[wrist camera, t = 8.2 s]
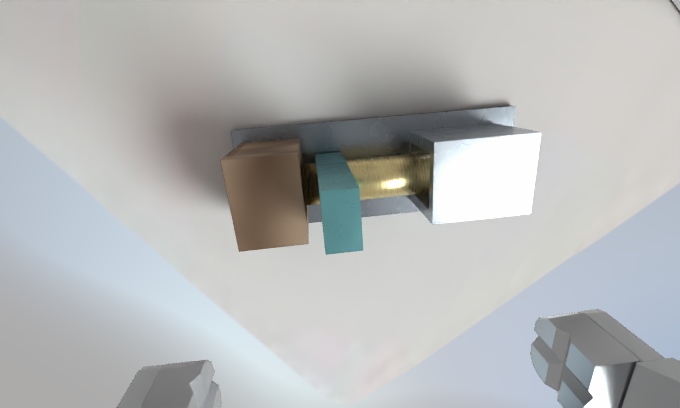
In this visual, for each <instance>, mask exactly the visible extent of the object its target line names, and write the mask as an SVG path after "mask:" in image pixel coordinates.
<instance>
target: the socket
mask: <svg viewBox="0 0 680 408" xmlns="http://www.w3.org/2000/svg"><path fill="white" fill-rule="evenodd" d="M220 161H221V166H222V171H223V175H224V180H225V185H226V190H227V195H228V200H229V205H230V210H231V215H232V220H233V225H234V230H235V235H236V239H237V244H238V249H239V252H240V251H249V250H258V249H267V248H276V247H285V246H294V245H303V244H308V206H305V204H304V196H303V188H302V179H301V171H300V164H303V162H302V154H301V145H300V138H299V139H288V140H277V141H266V142H255V143H244V144H239V145H238V146H237V147H236V148H234V149H233V150H232V151H231V152H230V153H229V154H227V155H226V156H225V157H224V158H223V159H222V160H220Z"/></svg>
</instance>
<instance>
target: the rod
mask: <svg viewBox="0 0 680 408" xmlns="http://www.w3.org/2000/svg"><path fill="white" fill-rule="evenodd" d="M315 158H316V163H310V164H300V171H301V179H302V188H303V196H304V204H305V206H308V205H318V204H320V206H321V215H322V224H323V233H324V243H325V252H326V255H327V254H335V253H344V252H353V251H362V250H363V240H362V222H361V205H360V200H366V199H376V198H386V197H396V196H405V195H415V194H425V193H429V189H430V153H429V152H426V153H416V154H405V155H395V156H384V157H373V158H363V159H352V160H345V159H344V157H343V155H342V153H341V152H336V153H325V154H315Z"/></svg>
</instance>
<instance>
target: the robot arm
mask: <svg viewBox="0 0 680 408" xmlns="http://www.w3.org/2000/svg"><path fill="white" fill-rule="evenodd" d="M534 330H535V332H536V333H537V334H538V337H537V338H536V340H535V341H534V342H533V343H532V346H531V359H532V362H533V366H534V368H535V370H536V372H537V374H538V375H539V377H540V378H541V379H542V381H543V382H544V383H545V384H546V385H548V386H549V387H551V388H553V389H555V390H556V391H557V396H558V402H559V403H560V404H561V405H562V407H563V408H680V361H679V360H676V359H674V358H664V357H663V356H662V355H660V354H659V353H658V352H656V351H655V350H654V349H653V348H651V347H650V346H649V345H647V344H646V343H645V342H644V341H642V340H641V339H639V338H638V337H637V336H636V335H635V334H633V333H632V332H631V331H629V330H628V329H627V328H626V327H624V326H623V325H622V324H620V323H619V322H618V321H617V320H615V319H614V318H613V317H611V316H610V315H609V314H607V313H606V312H604V311H602V310H599V309H595V310H589V311H581V312H577V313H575V312H574V313H567V314H560V315H553V316H546V317H539V318H538V320H537V321H536V323H535V328H534ZM214 372H215V371H214V368H213V365H212V362H211V361H209V360H201V361H191V362H182V363H173V364H165V365H157V366H146V367H143V368H142V369H141V370H139V371H138V372H137V374H136V375H135V377H134V379H133V380H132V382H131V384H130V386H129V387H128V389H127V391H126V392H125V394H124V396H123V398H122V399H121V401H120V403H119V404H118V406H117V408H221V393H220V389H219V385H217V384H216V383H215V382H213V381H212V378H213V375H214Z"/></svg>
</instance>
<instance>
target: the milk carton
mask: <svg viewBox="0 0 680 408" xmlns="http://www.w3.org/2000/svg"><path fill="white" fill-rule="evenodd" d="M672 1H673V2H674V4H675V5H676V7H677V8H678V9H679V11H680V0H672Z"/></svg>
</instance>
